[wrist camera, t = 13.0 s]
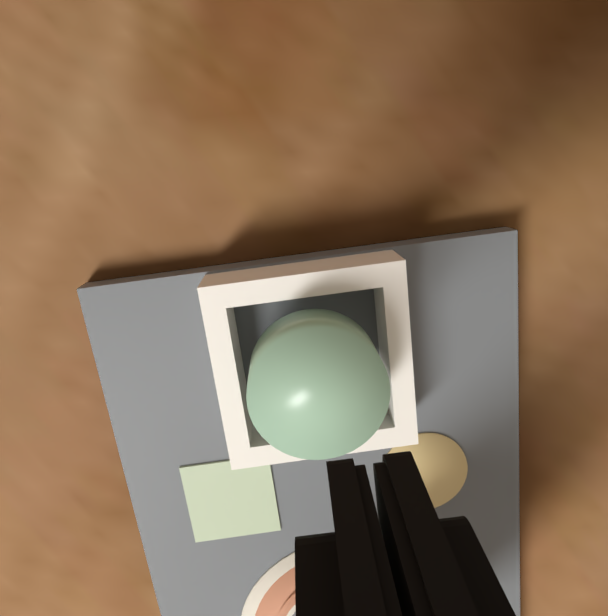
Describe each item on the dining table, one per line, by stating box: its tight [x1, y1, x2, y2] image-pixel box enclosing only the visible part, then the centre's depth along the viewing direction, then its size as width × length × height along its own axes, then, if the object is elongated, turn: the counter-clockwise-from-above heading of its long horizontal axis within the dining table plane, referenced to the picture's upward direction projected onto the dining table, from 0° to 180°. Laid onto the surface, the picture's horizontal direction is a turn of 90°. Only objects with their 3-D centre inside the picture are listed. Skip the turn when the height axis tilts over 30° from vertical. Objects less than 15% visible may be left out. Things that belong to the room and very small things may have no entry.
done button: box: [246, 309, 390, 460], centre depth 17 cm, size 4×4×2 cm
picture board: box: [77, 227, 520, 616], centre depth 21 cm, size 16×22×3 cm
